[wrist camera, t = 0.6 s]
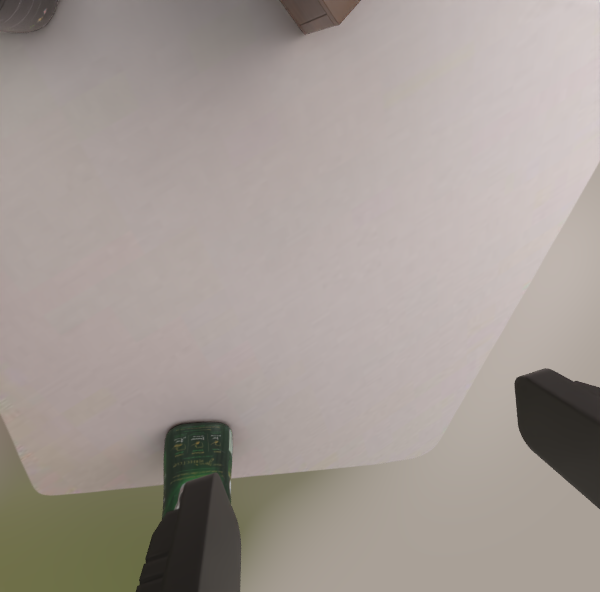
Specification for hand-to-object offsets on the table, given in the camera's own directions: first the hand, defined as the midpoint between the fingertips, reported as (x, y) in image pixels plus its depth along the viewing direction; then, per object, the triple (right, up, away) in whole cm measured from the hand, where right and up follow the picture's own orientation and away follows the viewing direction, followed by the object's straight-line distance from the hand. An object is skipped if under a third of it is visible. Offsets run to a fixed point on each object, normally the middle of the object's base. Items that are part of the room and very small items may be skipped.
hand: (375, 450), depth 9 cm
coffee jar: (-17, -17, +44) cm, 50 cm away
